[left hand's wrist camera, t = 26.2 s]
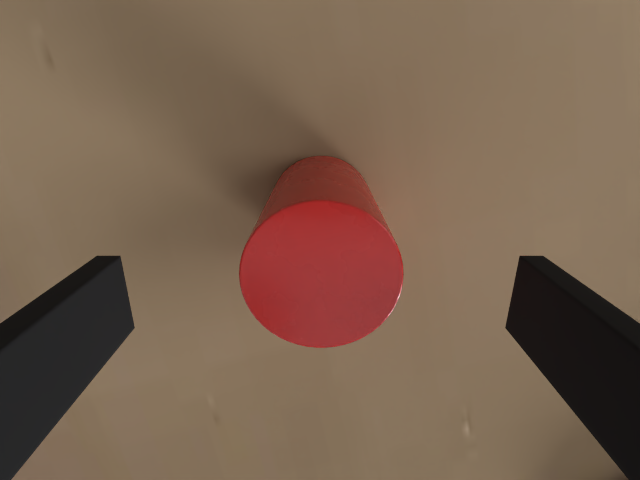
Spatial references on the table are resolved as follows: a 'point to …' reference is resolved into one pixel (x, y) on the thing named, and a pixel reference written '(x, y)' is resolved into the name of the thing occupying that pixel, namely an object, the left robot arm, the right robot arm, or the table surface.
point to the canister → (321, 257)
